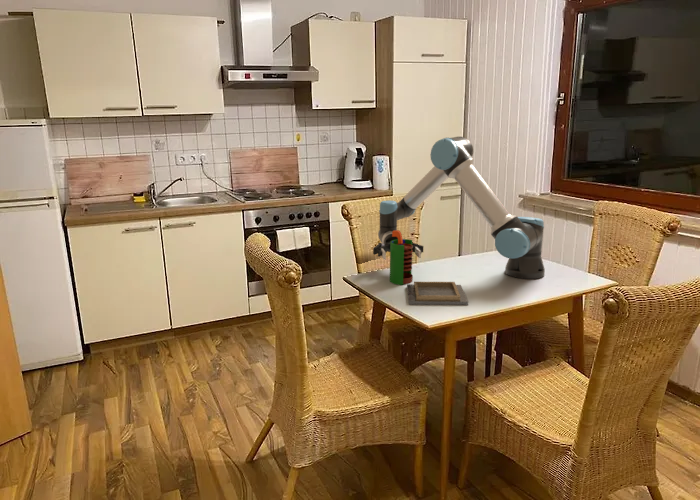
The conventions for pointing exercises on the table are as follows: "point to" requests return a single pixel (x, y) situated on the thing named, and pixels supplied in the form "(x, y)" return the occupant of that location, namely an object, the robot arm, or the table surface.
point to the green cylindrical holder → (400, 259)
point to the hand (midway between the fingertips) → (402, 255)
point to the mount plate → (436, 294)
